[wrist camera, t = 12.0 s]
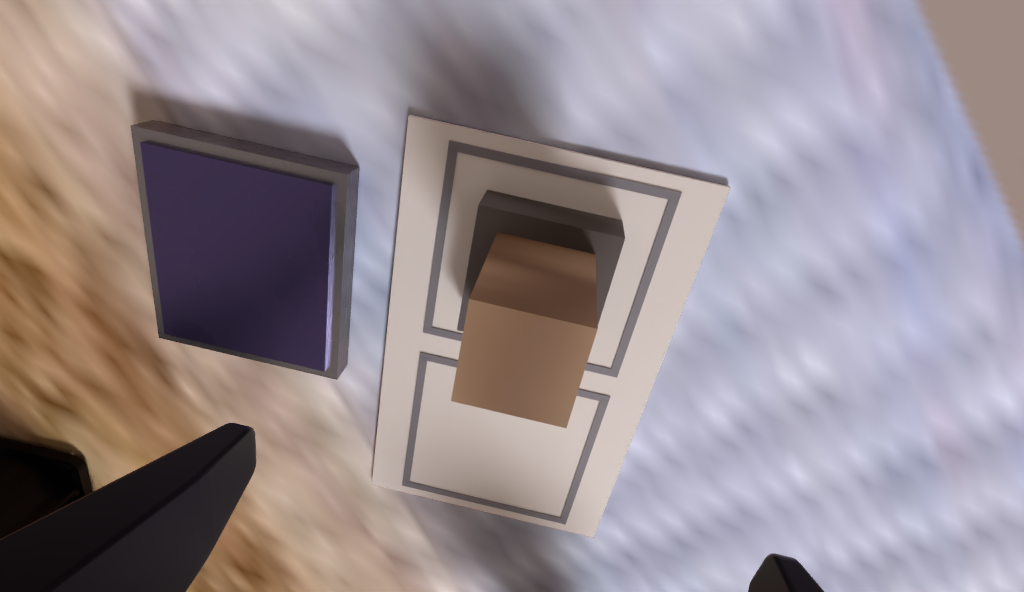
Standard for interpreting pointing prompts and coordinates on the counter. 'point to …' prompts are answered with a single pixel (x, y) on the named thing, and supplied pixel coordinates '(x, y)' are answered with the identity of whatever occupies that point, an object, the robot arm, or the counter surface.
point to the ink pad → (248, 246)
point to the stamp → (532, 305)
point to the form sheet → (436, 341)
